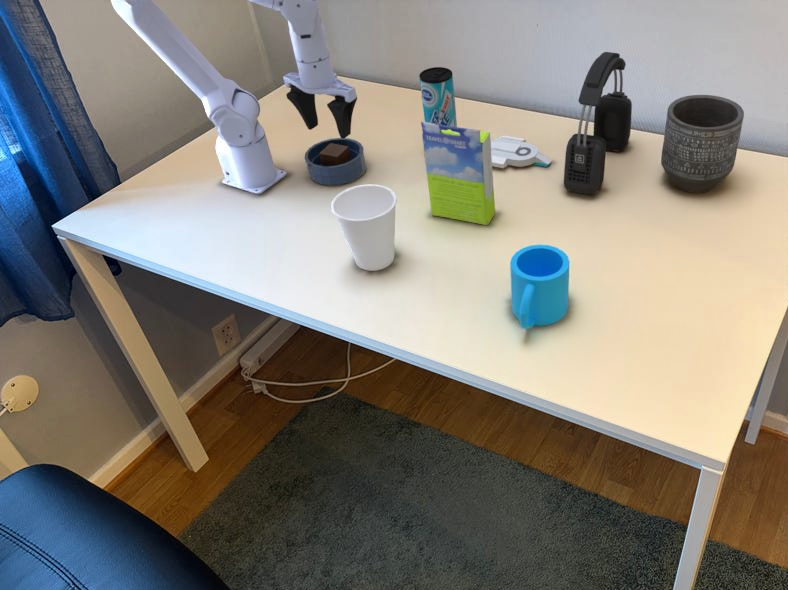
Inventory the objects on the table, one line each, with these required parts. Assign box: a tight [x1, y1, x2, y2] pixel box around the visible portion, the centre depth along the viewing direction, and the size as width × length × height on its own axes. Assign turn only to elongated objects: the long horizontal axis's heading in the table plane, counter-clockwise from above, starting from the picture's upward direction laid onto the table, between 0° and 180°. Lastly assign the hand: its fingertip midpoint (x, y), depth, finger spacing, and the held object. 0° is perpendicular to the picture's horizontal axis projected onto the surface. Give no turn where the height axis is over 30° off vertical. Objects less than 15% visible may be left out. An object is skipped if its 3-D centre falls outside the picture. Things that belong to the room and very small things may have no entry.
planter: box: [660, 94, 745, 194], centre depth 124 cm, size 12×12×13 cm
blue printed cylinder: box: [418, 66, 458, 127], centre depth 135 cm, size 6×6×15 cm
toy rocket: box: [490, 135, 552, 169], centre depth 136 cm, size 16×10×2 cm, turn 63°
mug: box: [509, 244, 570, 330], centre depth 103 cm, size 12×8×8 cm
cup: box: [330, 183, 398, 272], centre depth 113 cm, size 10×10×11 cm
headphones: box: [563, 51, 633, 196], centre depth 126 cm, size 22×6×20 cm, turn 155°
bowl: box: [304, 137, 367, 187], centre depth 136 cm, size 11×11×4 cm
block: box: [319, 143, 351, 166], centre depth 136 cm, size 4×4×4 cm
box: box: [420, 121, 496, 226], centre depth 119 cm, size 10×4×17 cm, turn 68°
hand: (329, 131), depth 132 cm, fingers open, 7 cm apart
